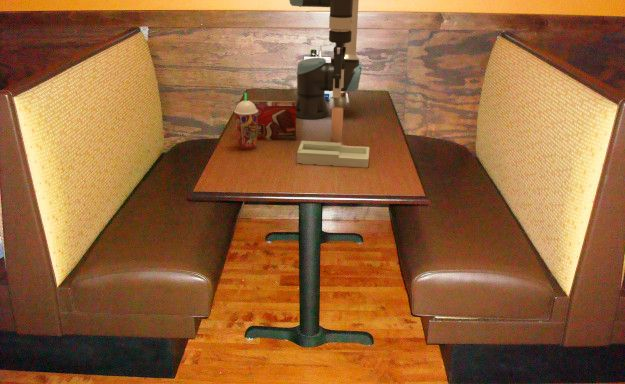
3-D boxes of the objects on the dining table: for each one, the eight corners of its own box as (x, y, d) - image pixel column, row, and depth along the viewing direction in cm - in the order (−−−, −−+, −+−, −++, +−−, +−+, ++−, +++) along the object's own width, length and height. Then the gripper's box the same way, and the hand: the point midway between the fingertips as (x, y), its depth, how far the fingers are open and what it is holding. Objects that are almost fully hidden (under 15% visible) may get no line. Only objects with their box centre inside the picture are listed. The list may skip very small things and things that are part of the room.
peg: (327, 144, 215) (329, 105, 209) (345, 145, 215) (347, 106, 208) (326, 150, 209) (327, 110, 203) (344, 151, 209) (346, 111, 202)
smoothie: (255, 152, 207) (253, 97, 198) (232, 150, 208) (230, 95, 200) (261, 144, 214) (260, 90, 206) (239, 142, 216) (237, 89, 207)
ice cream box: (295, 134, 225) (295, 101, 219) (295, 140, 219) (296, 106, 214) (243, 134, 224) (242, 100, 219) (242, 140, 218) (241, 105, 213)
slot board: (301, 151, 208) (301, 140, 207) (368, 155, 206) (369, 144, 205) (297, 163, 198) (297, 152, 196) (368, 167, 195) (368, 156, 194)
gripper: (349, 36, 183) (346, 102, 191) (353, 24, 205) (350, 84, 214) (325, 35, 183) (324, 101, 192) (332, 24, 206) (330, 83, 215)
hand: (338, 92), depth 203 cm, fingers open, 13 cm apart
